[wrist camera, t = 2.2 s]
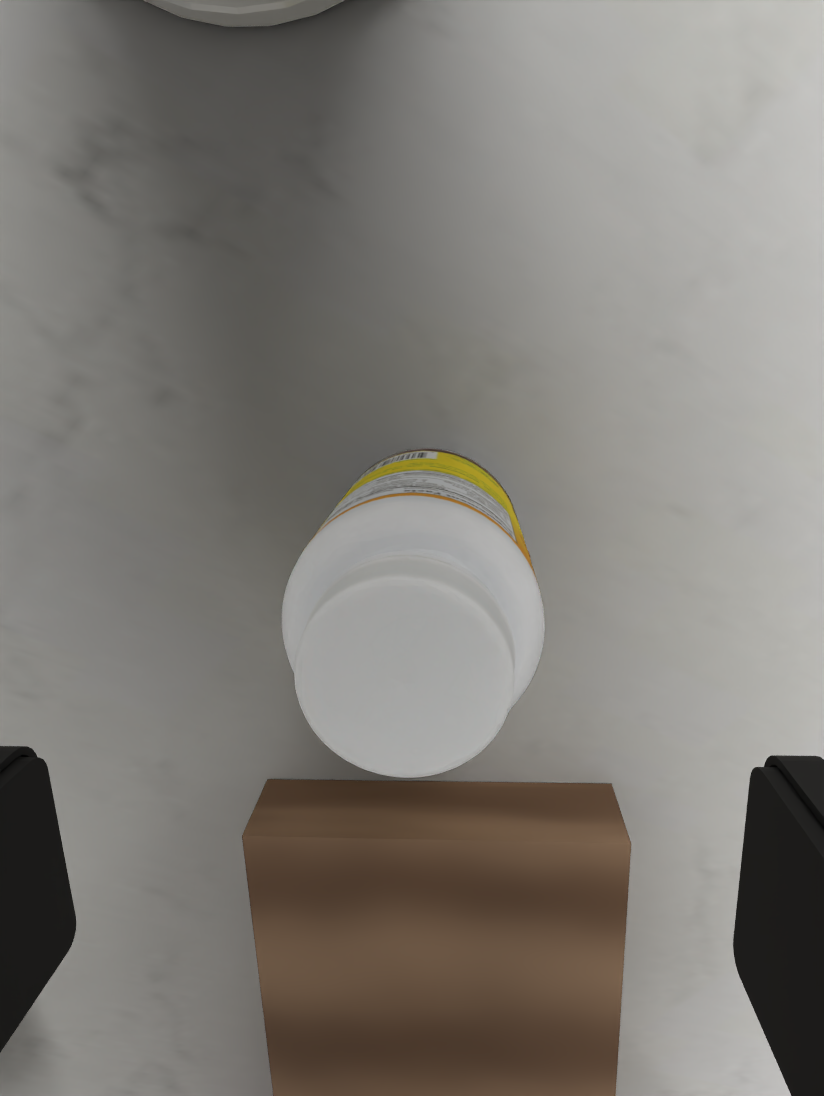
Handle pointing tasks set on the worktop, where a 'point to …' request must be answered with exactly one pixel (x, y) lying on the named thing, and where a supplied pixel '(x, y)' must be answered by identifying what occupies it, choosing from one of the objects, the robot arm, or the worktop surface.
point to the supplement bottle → (414, 616)
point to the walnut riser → (439, 936)
